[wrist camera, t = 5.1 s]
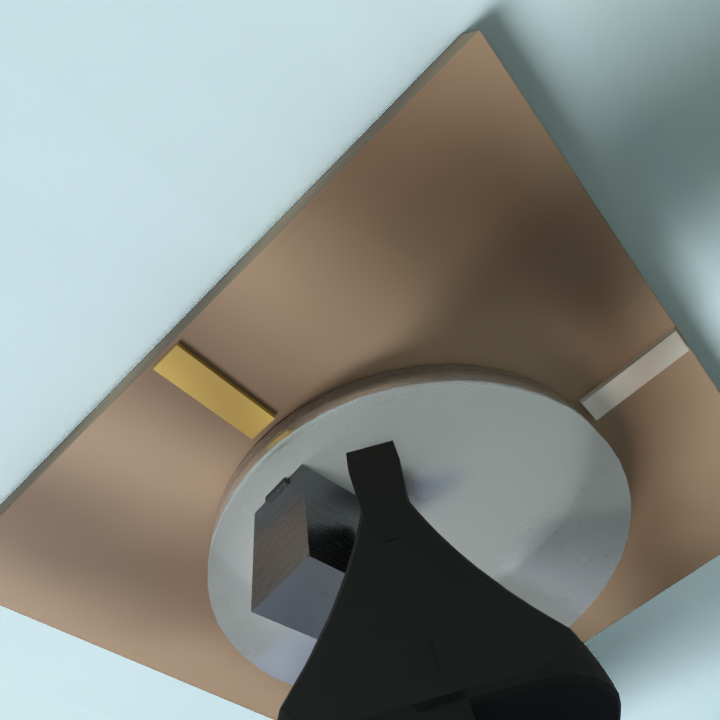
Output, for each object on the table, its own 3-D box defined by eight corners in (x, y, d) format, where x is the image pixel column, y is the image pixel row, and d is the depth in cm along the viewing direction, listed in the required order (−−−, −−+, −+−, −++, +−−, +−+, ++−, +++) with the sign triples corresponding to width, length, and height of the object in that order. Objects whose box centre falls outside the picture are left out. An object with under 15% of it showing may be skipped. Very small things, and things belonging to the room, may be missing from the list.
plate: (384, 739, 25) (390, 772, 24) (-41, 547, 16) (-65, 583, 15) (767, 484, 21) (797, 509, 19) (461, 34, 12) (482, 29, 11)
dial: (680, 499, 18) (784, 606, 15) (419, 702, 22) (449, 830, 18) (416, 269, 13) (474, 345, 9) (126, 586, 16) (84, 733, 13)
